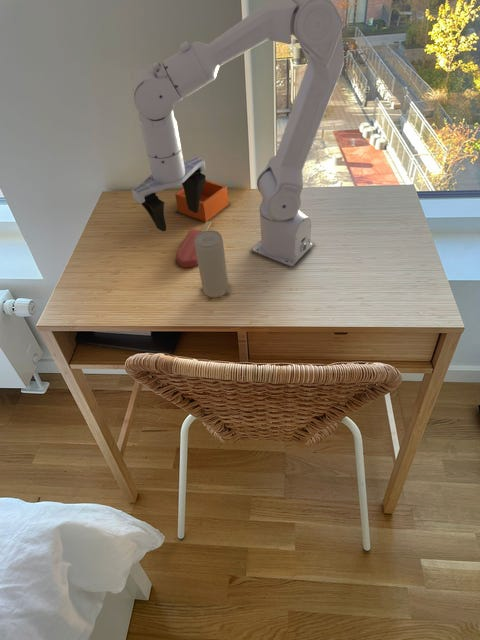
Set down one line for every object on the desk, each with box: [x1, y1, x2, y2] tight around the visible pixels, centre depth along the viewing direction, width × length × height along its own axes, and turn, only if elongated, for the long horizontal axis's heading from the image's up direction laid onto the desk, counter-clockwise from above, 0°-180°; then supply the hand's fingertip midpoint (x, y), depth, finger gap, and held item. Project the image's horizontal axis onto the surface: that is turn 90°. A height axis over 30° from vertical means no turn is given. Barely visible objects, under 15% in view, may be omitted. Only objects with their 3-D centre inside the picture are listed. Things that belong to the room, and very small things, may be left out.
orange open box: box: [174, 179, 229, 223], centre depth 109 cm, size 8×8×5 cm
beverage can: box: [195, 229, 229, 298], centre depth 87 cm, size 5×5×12 cm
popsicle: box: [176, 220, 212, 268], centre depth 101 cm, size 5×2×15 cm
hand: (177, 219), depth 90 cm, fingers open, 7 cm apart
